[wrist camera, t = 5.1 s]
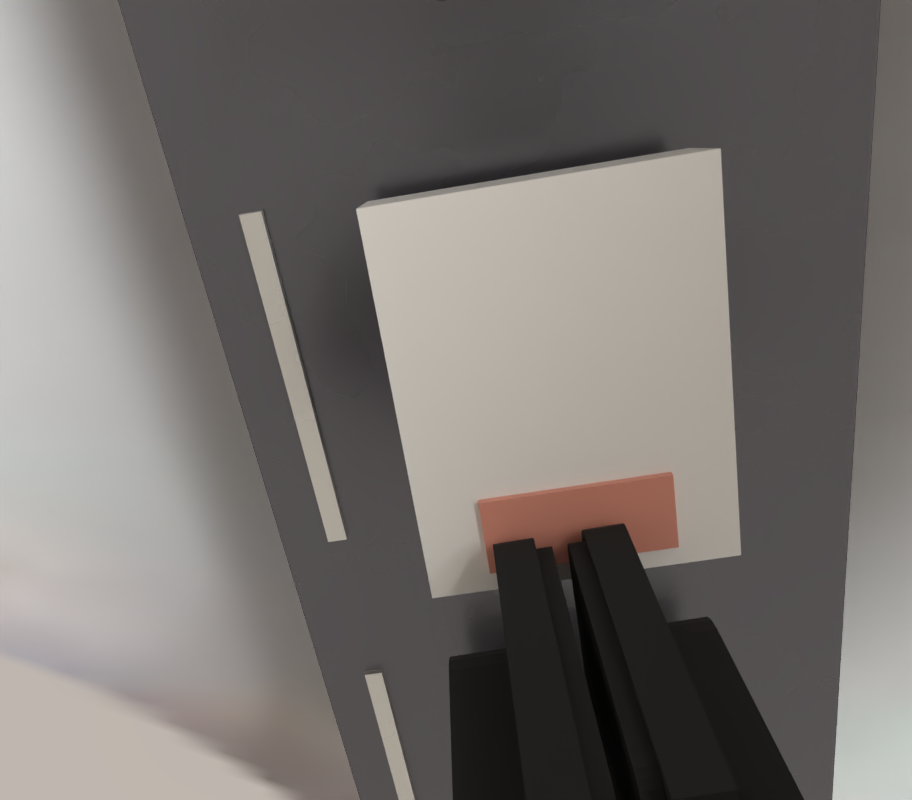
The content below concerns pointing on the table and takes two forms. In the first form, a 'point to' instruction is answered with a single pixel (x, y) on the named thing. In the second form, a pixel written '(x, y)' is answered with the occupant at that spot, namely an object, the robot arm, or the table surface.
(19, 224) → the table surface
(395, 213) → the plate
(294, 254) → the power strip
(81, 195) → the table surface
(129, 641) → the table surface
